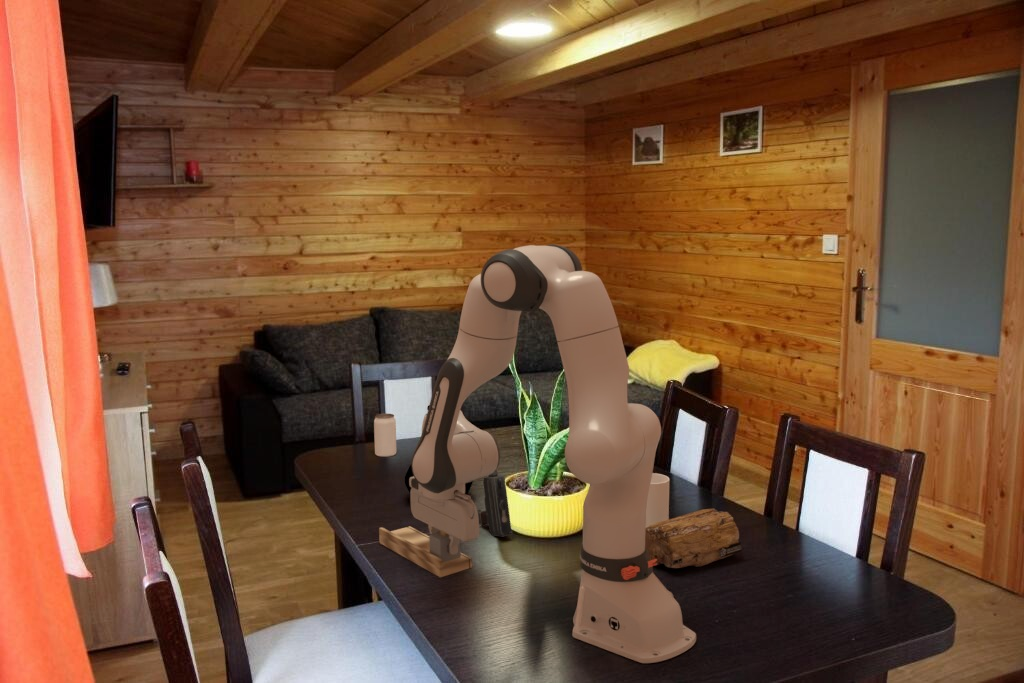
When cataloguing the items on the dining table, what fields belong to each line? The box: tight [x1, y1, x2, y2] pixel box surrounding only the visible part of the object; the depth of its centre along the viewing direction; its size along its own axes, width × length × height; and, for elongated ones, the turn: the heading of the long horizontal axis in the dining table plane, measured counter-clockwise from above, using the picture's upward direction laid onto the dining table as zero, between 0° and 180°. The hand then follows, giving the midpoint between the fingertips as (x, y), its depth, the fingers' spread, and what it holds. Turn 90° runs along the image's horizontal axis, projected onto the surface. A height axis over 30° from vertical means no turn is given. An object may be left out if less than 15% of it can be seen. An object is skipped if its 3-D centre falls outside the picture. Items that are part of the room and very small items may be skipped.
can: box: [373, 413, 397, 458], centre depth 268 cm, size 6×6×12 cm
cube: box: [428, 530, 462, 562], centre depth 184 cm, size 4×5×6 cm
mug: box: [646, 472, 670, 528], centre depth 205 cm, size 12×8×12 cm
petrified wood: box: [645, 507, 743, 569], centre depth 188 cm, size 19×13×10 cm
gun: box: [477, 469, 514, 538], centre depth 205 cm, size 3×17×15 cm
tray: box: [378, 525, 473, 578], centre depth 191 cm, size 24×8×4 cm, turn 39°
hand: (445, 549), depth 184 cm, fingers closed on cube, 4 cm apart
